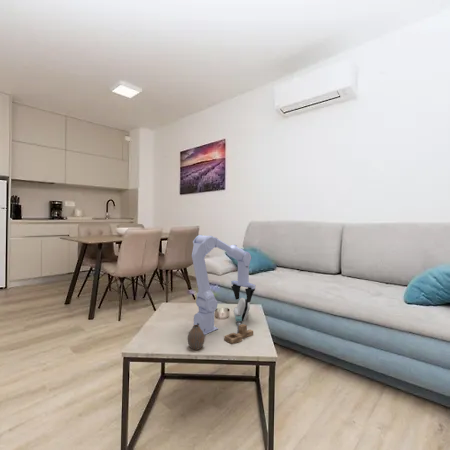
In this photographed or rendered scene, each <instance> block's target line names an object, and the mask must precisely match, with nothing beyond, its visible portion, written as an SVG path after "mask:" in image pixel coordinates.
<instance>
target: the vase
mask: <svg viewBox="0 0 450 450" xmlns="http://www.w3.org/2000/svg"><path fill="white" fill-rule="evenodd" d="M205 339H206V336H205V335H204V333H203V331H202V330H201V328H200V327H199V325H194V324H193V326H192V327H191V329H190V330H189V332H188V333H187V345H188V347H189V348H190V349H192V350H200V349H201V348H202V347H203V346H204V344H205Z"/></svg>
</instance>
